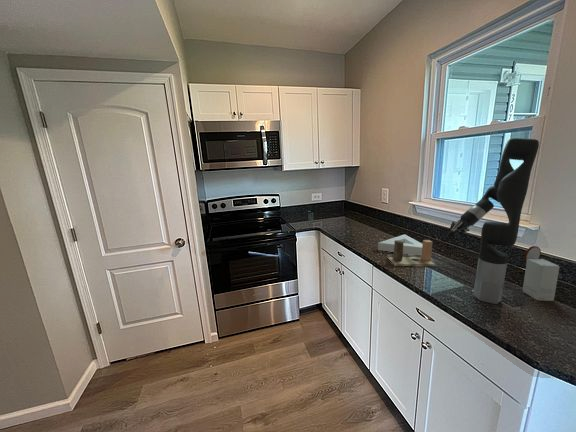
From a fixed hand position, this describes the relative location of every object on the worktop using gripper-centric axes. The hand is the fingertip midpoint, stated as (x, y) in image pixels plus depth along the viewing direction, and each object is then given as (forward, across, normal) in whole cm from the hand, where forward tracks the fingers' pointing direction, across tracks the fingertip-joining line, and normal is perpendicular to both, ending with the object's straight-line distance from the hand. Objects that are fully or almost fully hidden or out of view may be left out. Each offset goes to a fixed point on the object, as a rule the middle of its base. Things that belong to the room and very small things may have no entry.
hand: (447, 236), depth 140 cm
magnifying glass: (-3, +30, +25) cm, 39 cm away
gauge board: (+25, 0, -3) cm, 25 cm away
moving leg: (+17, -1, +2) cm, 17 cm away
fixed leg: (+28, -1, -10) cm, 30 cm away
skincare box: (-2, +37, +24) cm, 44 cm away
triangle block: (+21, -25, +2) cm, 33 cm away
